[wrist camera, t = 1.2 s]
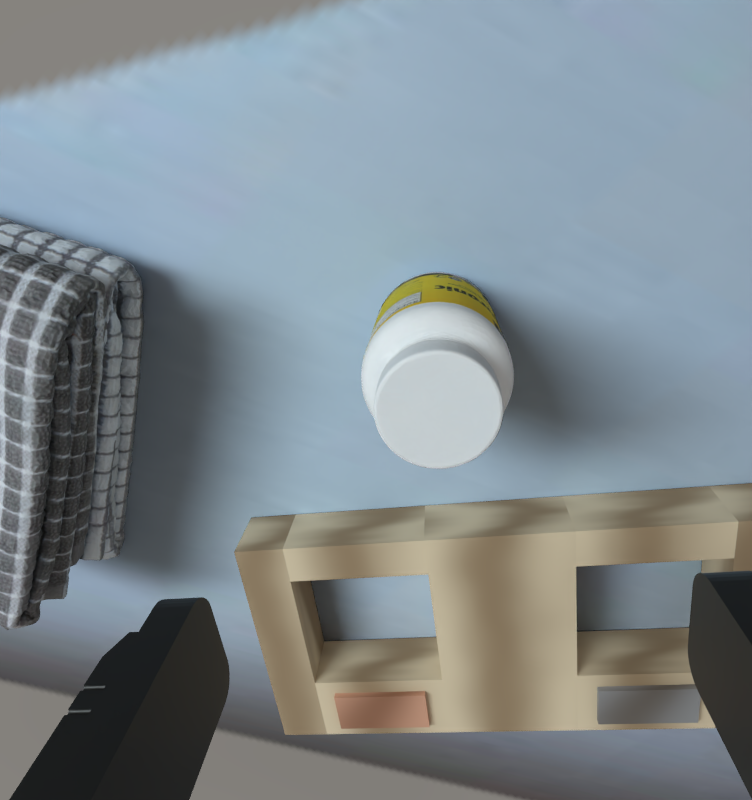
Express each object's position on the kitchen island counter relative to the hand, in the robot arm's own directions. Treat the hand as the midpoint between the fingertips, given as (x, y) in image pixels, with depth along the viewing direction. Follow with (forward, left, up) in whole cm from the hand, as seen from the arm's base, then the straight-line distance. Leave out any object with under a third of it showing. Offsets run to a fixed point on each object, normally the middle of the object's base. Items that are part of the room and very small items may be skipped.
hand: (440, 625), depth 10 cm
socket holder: (-2, +16, -18) cm, 25 cm away
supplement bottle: (0, 0, -19) cm, 19 cm away
